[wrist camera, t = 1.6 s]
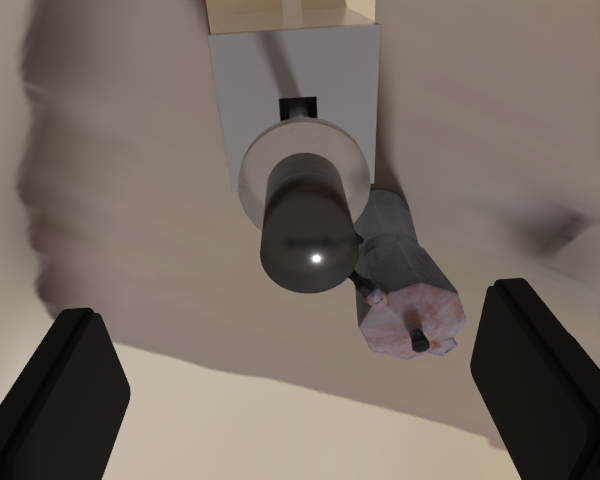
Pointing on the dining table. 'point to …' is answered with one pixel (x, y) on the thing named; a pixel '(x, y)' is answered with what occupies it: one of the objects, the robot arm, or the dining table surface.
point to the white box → (294, 67)
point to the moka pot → (401, 285)
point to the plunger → (305, 197)
